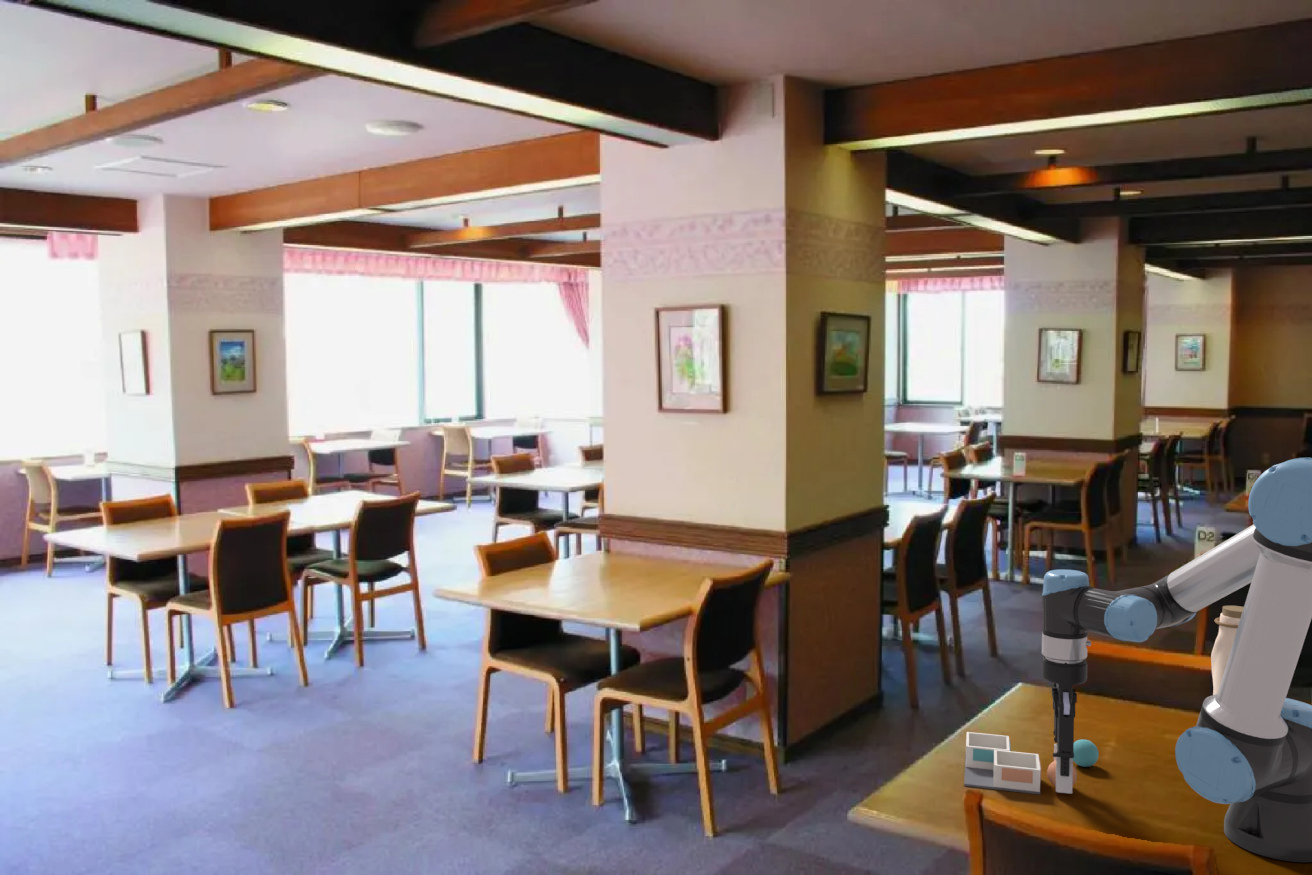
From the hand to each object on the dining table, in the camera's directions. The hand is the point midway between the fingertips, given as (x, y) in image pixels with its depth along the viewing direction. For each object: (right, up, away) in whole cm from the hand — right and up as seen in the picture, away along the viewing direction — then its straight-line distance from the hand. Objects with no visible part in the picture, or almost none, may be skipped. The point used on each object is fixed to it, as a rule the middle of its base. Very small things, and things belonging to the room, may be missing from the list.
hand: (1062, 785), depth 193 cm
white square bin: (-10, 0, +13) cm, 16 cm away
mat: (-8, 0, +8) cm, 12 cm away
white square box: (-7, -1, +4) cm, 8 cm away
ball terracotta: (0, +2, 0) cm, 2 cm away
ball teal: (+8, +3, +11) cm, 14 cm away
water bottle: (+41, +1, +20) cm, 46 cm away
